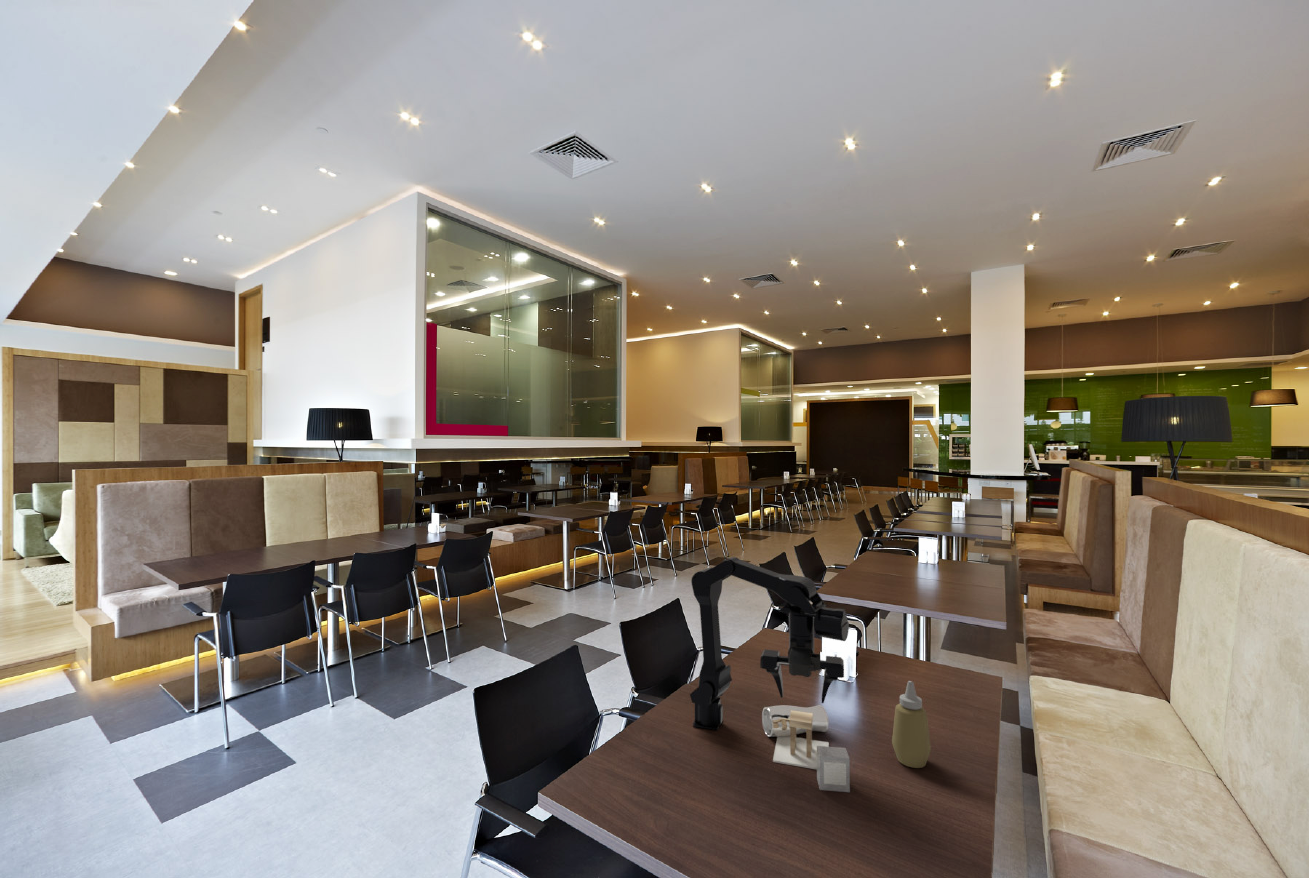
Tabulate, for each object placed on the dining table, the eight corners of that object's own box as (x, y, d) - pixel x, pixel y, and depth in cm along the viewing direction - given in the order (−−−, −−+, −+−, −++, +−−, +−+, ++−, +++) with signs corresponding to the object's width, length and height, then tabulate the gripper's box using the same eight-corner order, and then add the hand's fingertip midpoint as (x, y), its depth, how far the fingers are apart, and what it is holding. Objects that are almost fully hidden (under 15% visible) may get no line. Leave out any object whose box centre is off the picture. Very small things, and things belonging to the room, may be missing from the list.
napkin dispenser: (820, 791, 115) (820, 757, 115) (816, 778, 119) (816, 745, 119) (850, 793, 114) (849, 759, 114) (845, 781, 118) (845, 747, 118)
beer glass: (831, 719, 135) (774, 723, 132) (825, 740, 138) (769, 744, 135) (819, 696, 142) (764, 699, 139) (813, 717, 144) (759, 720, 141)
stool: (791, 743, 132) (791, 710, 132) (812, 747, 131) (812, 713, 131) (789, 754, 128) (789, 719, 128) (811, 758, 126) (811, 723, 126)
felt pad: (772, 762, 125) (772, 760, 125) (777, 736, 137) (777, 734, 137) (828, 771, 122) (828, 769, 122) (828, 744, 133) (828, 742, 133)
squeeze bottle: (928, 755, 128) (927, 677, 128) (933, 775, 120) (932, 691, 121) (890, 749, 131) (890, 672, 131) (893, 768, 123) (892, 686, 123)
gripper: (757, 639, 125) (757, 709, 125) (844, 648, 119) (844, 721, 119) (762, 625, 136) (763, 689, 135) (843, 632, 130) (843, 699, 129)
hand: (802, 699), depth 129 cm, fingers open, 9 cm apart
